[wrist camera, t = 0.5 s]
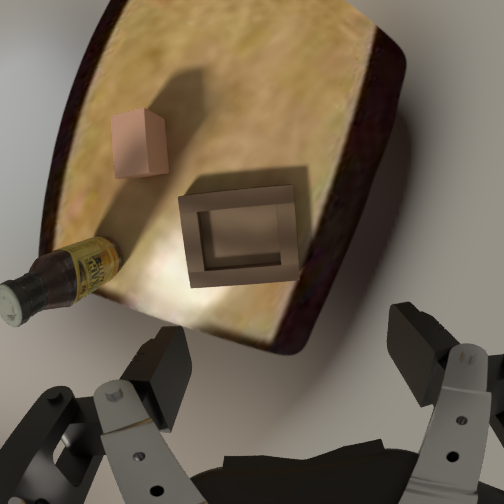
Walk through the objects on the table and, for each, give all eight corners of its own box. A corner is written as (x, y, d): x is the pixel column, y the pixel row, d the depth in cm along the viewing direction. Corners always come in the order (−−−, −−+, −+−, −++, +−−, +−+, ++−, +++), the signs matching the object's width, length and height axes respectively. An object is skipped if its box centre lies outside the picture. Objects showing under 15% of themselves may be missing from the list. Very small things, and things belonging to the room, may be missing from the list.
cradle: (183, 195, 36) (177, 196, 33) (291, 184, 35) (293, 184, 33) (195, 281, 38) (190, 288, 36) (297, 273, 38) (299, 280, 35)
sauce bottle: (119, 284, 39) (31, 357, 20) (84, 267, 39) (-11, 324, 19) (130, 242, 37) (31, 296, 18) (93, 225, 37) (-13, 264, 18)
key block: (136, 125, 34) (110, 116, 27) (164, 119, 34) (144, 107, 27) (140, 178, 36) (115, 178, 29) (169, 173, 35) (148, 172, 28)
